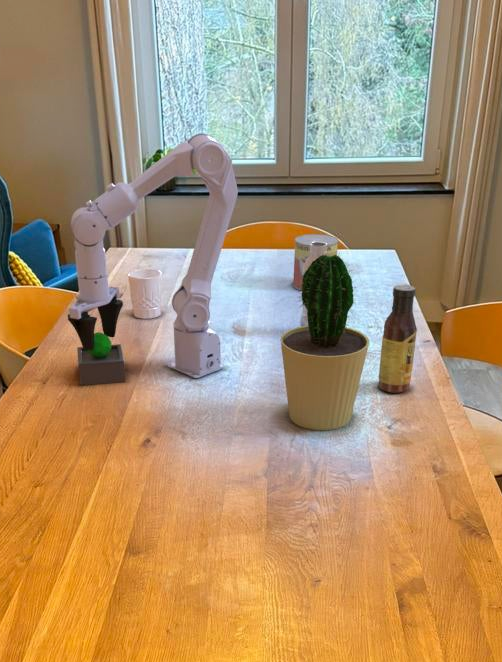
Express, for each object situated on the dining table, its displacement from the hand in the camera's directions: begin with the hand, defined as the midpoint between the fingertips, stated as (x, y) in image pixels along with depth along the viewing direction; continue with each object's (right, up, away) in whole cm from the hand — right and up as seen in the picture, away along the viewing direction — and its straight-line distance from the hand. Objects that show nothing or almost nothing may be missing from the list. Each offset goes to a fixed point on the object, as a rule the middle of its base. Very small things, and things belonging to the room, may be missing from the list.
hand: (99, 342), depth 160 cm
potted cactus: (+43, -17, -13) cm, 48 cm away
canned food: (+49, +26, +53) cm, 77 cm away
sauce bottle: (+59, -10, -3) cm, 59 cm away
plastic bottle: (+46, +7, +23) cm, 52 cm away
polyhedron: (0, -3, +2) cm, 3 cm away
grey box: (0, -6, +4) cm, 7 cm away
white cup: (+6, +14, +35) cm, 38 cm away
